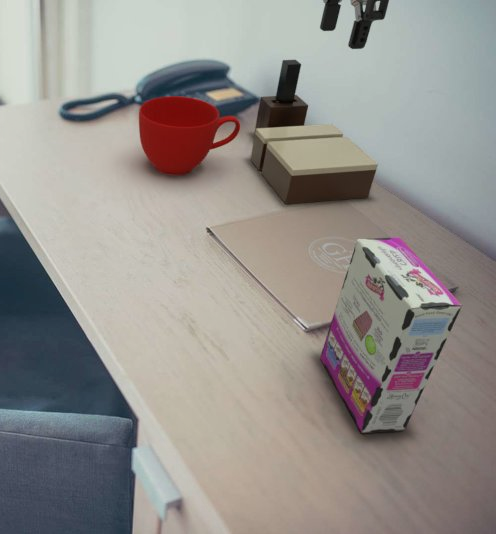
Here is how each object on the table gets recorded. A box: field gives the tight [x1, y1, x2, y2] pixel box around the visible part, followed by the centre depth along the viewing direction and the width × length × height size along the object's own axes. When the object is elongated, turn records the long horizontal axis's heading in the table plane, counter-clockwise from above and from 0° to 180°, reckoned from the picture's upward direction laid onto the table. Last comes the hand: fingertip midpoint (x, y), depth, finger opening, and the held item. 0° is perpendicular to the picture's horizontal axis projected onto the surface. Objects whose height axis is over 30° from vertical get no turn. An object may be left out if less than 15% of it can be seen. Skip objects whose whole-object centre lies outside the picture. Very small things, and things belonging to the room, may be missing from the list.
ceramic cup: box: [138, 95, 241, 176], centre depth 107 cm, size 13×17×10 cm
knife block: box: [253, 94, 309, 136], centre depth 117 cm, size 7×5×8 cm
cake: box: [261, 136, 379, 205], centre depth 104 cm, size 14×10×6 cm
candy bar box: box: [319, 236, 463, 434], centre depth 64 cm, size 11×5×16 cm, turn 6°
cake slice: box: [250, 123, 344, 171], centre depth 110 cm, size 14×4×6 cm, turn 100°
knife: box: [275, 59, 302, 104], centre depth 115 cm, size 3×2×14 cm
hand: (340, 38), depth 94 cm, fingers open, 8 cm apart
